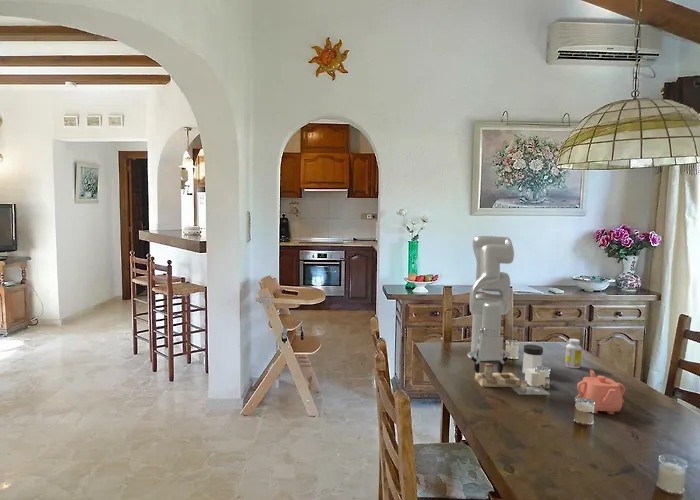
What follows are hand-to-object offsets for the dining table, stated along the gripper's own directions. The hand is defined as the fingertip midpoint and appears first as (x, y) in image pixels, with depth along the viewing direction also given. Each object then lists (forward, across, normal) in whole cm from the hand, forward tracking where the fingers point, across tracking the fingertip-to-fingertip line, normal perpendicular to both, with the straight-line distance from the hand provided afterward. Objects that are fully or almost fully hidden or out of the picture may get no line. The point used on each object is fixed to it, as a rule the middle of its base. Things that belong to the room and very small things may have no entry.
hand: (488, 372), depth 214 cm
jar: (+5, +25, +13) cm, 29 cm away
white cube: (+5, +20, -1) cm, 21 cm away
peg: (+5, 0, 0) cm, 5 cm away
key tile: (+5, +14, -9) cm, 18 cm away
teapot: (+5, +33, -27) cm, 43 cm away
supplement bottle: (+5, +49, +22) cm, 54 cm away
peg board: (+5, +4, 0) cm, 6 cm away
